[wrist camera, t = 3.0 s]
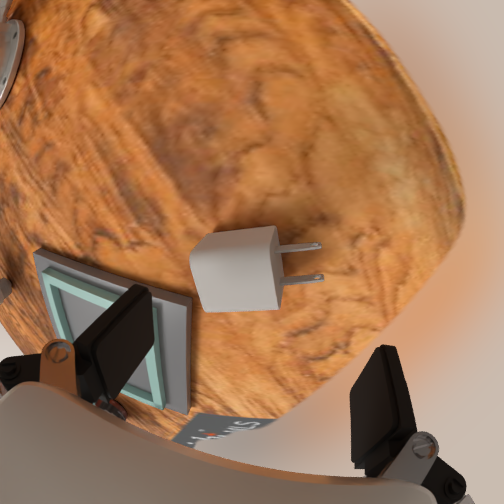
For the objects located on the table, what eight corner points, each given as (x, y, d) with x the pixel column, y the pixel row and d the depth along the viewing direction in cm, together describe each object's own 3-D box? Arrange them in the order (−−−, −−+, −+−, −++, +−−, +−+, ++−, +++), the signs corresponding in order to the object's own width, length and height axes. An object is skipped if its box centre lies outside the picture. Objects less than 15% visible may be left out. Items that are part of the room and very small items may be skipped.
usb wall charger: (210, 230, 18) (186, 255, 14) (317, 217, 16) (322, 241, 13) (223, 283, 19) (205, 317, 16) (323, 275, 18) (326, 311, 14)
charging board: (40, 247, 22) (26, 256, 20) (192, 297, 20) (181, 314, 18) (70, 354, 29) (61, 364, 27) (190, 407, 27) (184, 421, 25)
